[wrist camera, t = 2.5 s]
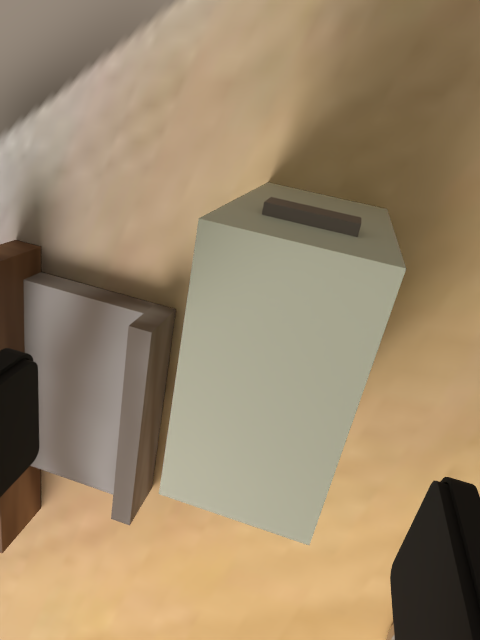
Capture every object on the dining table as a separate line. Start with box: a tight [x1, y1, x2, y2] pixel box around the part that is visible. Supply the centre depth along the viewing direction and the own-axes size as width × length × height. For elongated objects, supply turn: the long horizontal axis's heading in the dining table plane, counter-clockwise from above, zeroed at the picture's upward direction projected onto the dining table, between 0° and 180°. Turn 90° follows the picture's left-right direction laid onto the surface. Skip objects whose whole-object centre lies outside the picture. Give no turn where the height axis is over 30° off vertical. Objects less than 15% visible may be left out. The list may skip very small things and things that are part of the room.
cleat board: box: [0, 240, 176, 553], centre depth 27 cm, size 10×20×4 cm, turn 169°
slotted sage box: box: [159, 182, 406, 545], centre depth 18 cm, size 6×10×10 cm, turn 169°
